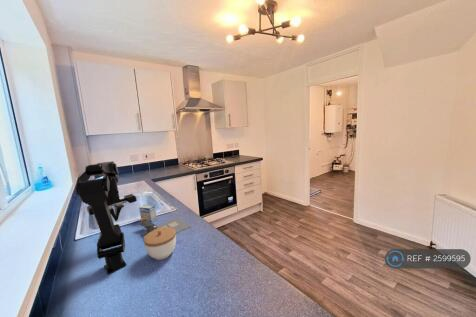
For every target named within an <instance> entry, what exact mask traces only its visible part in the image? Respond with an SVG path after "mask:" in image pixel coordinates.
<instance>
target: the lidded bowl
mask: <svg viewBox="0 0 476 317" xmlns="http://www.w3.org/2000/svg"><path fill="white" fill-rule="evenodd" d="M143 242H144V247H145V251H146V253H147V254H148V255H149V256H150V258H153V259H155V260H157V261H160V260H164V259H167V258H168V257H170V256H171V255H172V253H173V252H174V250H175V247H176V244H177V233H176V231H175V229H173V228H170V227H163V228H158V229H155V230H153V231H151V232H149V233H148V234H147V235H146V234H145V236H144V237H143Z"/></svg>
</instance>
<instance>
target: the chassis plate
mask: <svg viewBox="0 0 476 317" xmlns="http://www.w3.org/2000/svg"><path fill="white" fill-rule="evenodd" d="M156 225H157V229H158V228H163V227H170V228H173V229H175V231H176V234H178V233H181V232H182V231H185V230H186V229H188V228H190V227H191V226H192V225H191V224H190V223H188V222H186V221H185V220H183V219H181V218H179V217H177V216H175V217H174V218H171V219H169V220H166V221H164V222H161V223H159V224H156ZM149 232H150V231H149V230H147V229H144V230H143V233H144V234H145V236H146V235H147V234H148V233H149Z"/></svg>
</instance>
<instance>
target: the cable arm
mask: <svg viewBox="0 0 476 317" xmlns="http://www.w3.org/2000/svg"><path fill="white" fill-rule="evenodd" d="M140 222H141V226H142V227H143V228H145V230H149V231H150V232H151V231H153V230H155V229H157V225H158V224H154V223H153V222H150V221H148V220H147V218H146V217H145V218H142V219H141V218H140Z"/></svg>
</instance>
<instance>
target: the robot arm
mask: <svg viewBox="0 0 476 317" xmlns="http://www.w3.org/2000/svg"><path fill="white" fill-rule="evenodd" d="M119 174H120V172H119V169H118V166H117V163H115V162H114V161H105V162H98V163H93V164H89V165H86V166H85V169H84V172H82V174H81V175H80V176H78V178H77V181H76V186H75V191H76V194H77V196H78V197H79V198H80V200H81V202H82V203H83V204H85V205H87V207H86V211H87V214H88V215H89V216H94V218H95V220H96V224H97V226H98V229H99V236H98V237H99V238H98V239H97V243H96V254H97V258H98V259H99V260H101V259H103V258H104V262H105V264H104V266H103V268H104V269H105V272H106V274H107V275H111V274H112V273H114V272H116V271H118V270H120V269H122V268H124V267H126V266H127V262H126V261H125V260H124V258H123V253H125V249H126V242H125V234H124V232H122V229H121V226H120V224H115V223H114V221H115V222H118V220H119V217H120V213H121V211H122V209H123V208H124V207H125V205H124V203H126V202H127V203H129V204H132V203H133V204H134V203H135V202H137V201H138V200H137V196H136V195H135V194H132V193H131V194H127V195H124V196H123V198H120V193H119V188H118V183H119V180H120V176H119ZM94 176H98V177H99V178H96V179H90V178H91V177H94ZM101 177H102V178H101ZM113 207H114V208H113Z"/></svg>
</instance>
